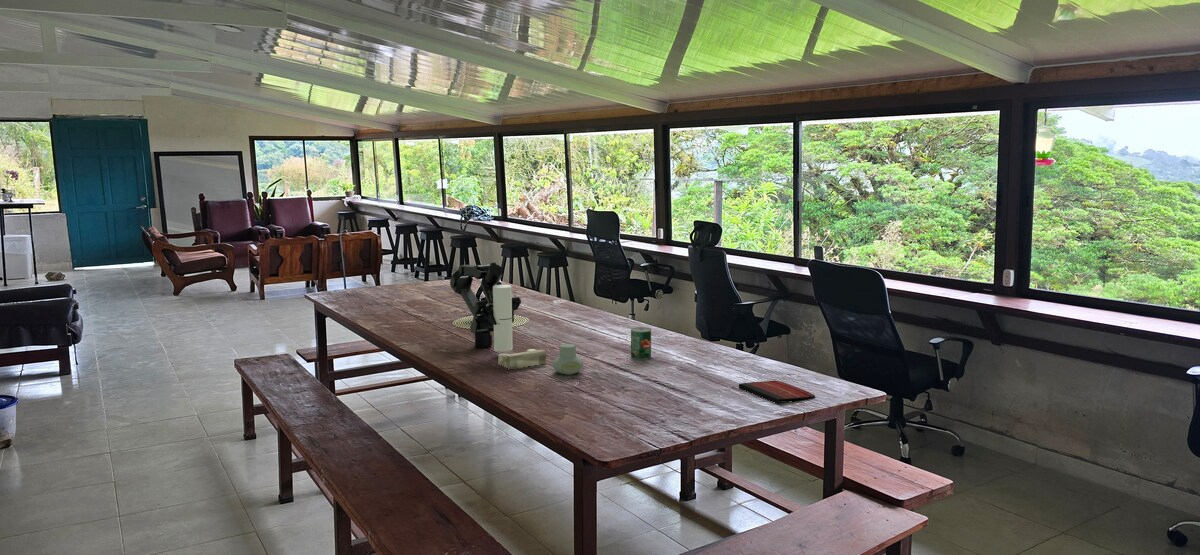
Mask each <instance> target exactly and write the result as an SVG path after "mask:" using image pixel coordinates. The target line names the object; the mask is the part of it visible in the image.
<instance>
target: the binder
mask: <svg viewBox="0 0 1200 555" xmlns="http://www.w3.org/2000/svg"><path fill="white" fill-rule="evenodd" d="M740 388H741V389H740ZM738 389H740V390H742V389H744V390H746V391H745V392H747V391H748V392H747V393H749V392H750V393H749V394H752V393H753V394H752V395H754V394H755V396H756V395H757V397H759V396H760V397H759V398H761V397H763V398H762V399H764V398H765V399H764V400H766V399H767V400H766V401H769V400H770V401H769V402H771V401H772V402H771V403H773V402H775V403H774V404H776V403H777V404H776V405H778V404H779V405H780V402H779V401H787V402H789V401H792V402H791V403H796V402H801V401H806V400H812V399H815V398H816V395H815V394H814V393H812V392H810V391H807V390H805V389H802V388H800V387H797V386H794V385H791V384H789V383H786V382H784V381H780V380H767V381H751V382H741V383H739V384H738ZM744 390H743V391H744Z"/></svg>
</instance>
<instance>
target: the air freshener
mask: <svg viewBox="0 0 1200 555" xmlns="http://www.w3.org/2000/svg"><path fill="white" fill-rule="evenodd" d="M558 347H559V356H558V357H556V358H555V359H554V360H553V362H552V368H553V370H554V371H555V372H557V373H559V374H562V375H566V376H570V375H572V376H573V375H574V374H577V373H578V372H580V371H581V370H582V369H583V367H584V362H583V360H582V359H581V358H580V357H579V356H577V346H576V345H575V344H573V343H562V344H560V345H559V346H558Z"/></svg>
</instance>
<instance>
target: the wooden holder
mask: <svg viewBox="0 0 1200 555" xmlns="http://www.w3.org/2000/svg"><path fill="white" fill-rule="evenodd" d="M546 355H547V352H546V350H545V349H535V348H530V349H526V351H523V352H517V353H511V354H510V353H507V352H503V353H499V354H498V359H497V360H498V365H499V364H500V365H499V366H501V365H502V366H501V367H503V366H504V367H503V368H505V367H506V368H505V369H507V368H508V370H509V369H513V370H517V369H516V368H519V369H523V368H522V367H525V368H529V367H528V366H531V367H535V366H534V365H537V366H542V365H541V364H543V365H546V364H547V356H546Z"/></svg>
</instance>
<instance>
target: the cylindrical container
mask: <svg viewBox="0 0 1200 555" xmlns="http://www.w3.org/2000/svg"><path fill="white" fill-rule="evenodd" d="M512 294H513V293H512V285H510V284H497V285H495V286H493V309H492V313H493V316H494V318H495V320H496V325H494V331H493V347H494V351H495V352H503V353H506V352H510V351H512V350H513V349H514V348H513V323H512Z"/></svg>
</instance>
